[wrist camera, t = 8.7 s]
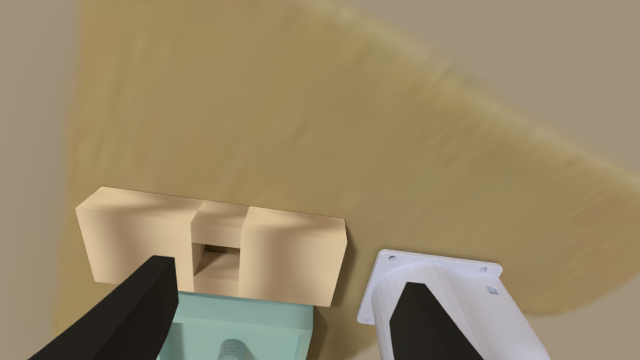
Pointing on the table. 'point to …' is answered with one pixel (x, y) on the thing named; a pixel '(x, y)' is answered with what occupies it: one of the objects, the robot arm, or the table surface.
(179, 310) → the tray
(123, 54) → the table surface
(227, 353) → the pin
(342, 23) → the table surface
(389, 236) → the table surface
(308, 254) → the beige slotted block
